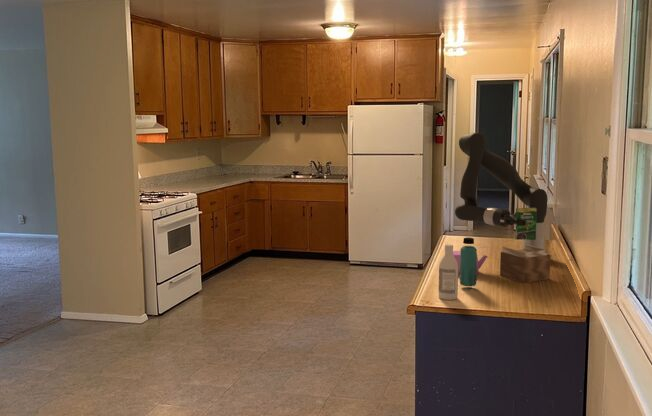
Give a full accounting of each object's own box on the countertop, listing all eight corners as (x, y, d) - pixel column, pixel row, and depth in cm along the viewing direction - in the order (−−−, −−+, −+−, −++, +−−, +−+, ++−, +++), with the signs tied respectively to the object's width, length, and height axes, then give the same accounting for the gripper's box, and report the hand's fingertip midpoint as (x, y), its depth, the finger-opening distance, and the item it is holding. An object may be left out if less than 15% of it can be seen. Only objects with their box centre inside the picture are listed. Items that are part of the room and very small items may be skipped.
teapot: (486, 270, 278) (486, 247, 277) (487, 276, 268) (488, 252, 267) (444, 269, 281) (444, 246, 280) (444, 274, 271) (444, 251, 270)
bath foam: (444, 294, 241) (445, 242, 238) (460, 297, 236) (462, 244, 233) (434, 298, 235) (435, 245, 233) (451, 301, 231) (452, 247, 228)
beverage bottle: (476, 290, 245) (478, 239, 243) (459, 289, 247) (460, 239, 244) (476, 286, 252) (477, 236, 249) (459, 285, 253) (460, 236, 250)
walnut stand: (525, 271, 275) (526, 244, 274) (549, 278, 263) (550, 250, 261) (499, 275, 269) (500, 247, 268) (522, 282, 257) (524, 253, 255)
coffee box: (515, 239, 263) (517, 208, 261) (514, 238, 266) (516, 207, 264) (535, 240, 262) (537, 208, 260) (534, 238, 265) (536, 207, 263)
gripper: (487, 210, 269) (521, 214, 256) (507, 206, 278) (541, 211, 265) (486, 227, 270) (520, 233, 257) (506, 223, 279) (540, 229, 266)
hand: (530, 222), depth 261 cm, fingers closed on coffee box, 7 cm apart
